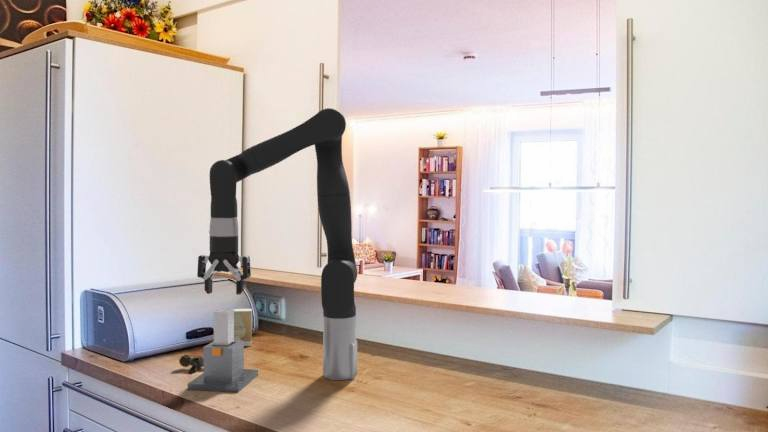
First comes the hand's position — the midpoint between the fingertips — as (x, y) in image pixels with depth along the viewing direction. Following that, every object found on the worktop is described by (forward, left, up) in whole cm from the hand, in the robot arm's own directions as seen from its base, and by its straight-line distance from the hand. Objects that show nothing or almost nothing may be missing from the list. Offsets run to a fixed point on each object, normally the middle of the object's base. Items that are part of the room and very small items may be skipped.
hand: (224, 293), depth 149 cm
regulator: (+11, -9, -25) cm, 28 cm away
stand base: (0, 0, -24) cm, 24 cm away
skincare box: (+10, -37, -25) cm, 45 cm away
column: (0, 0, -23) cm, 23 cm away
